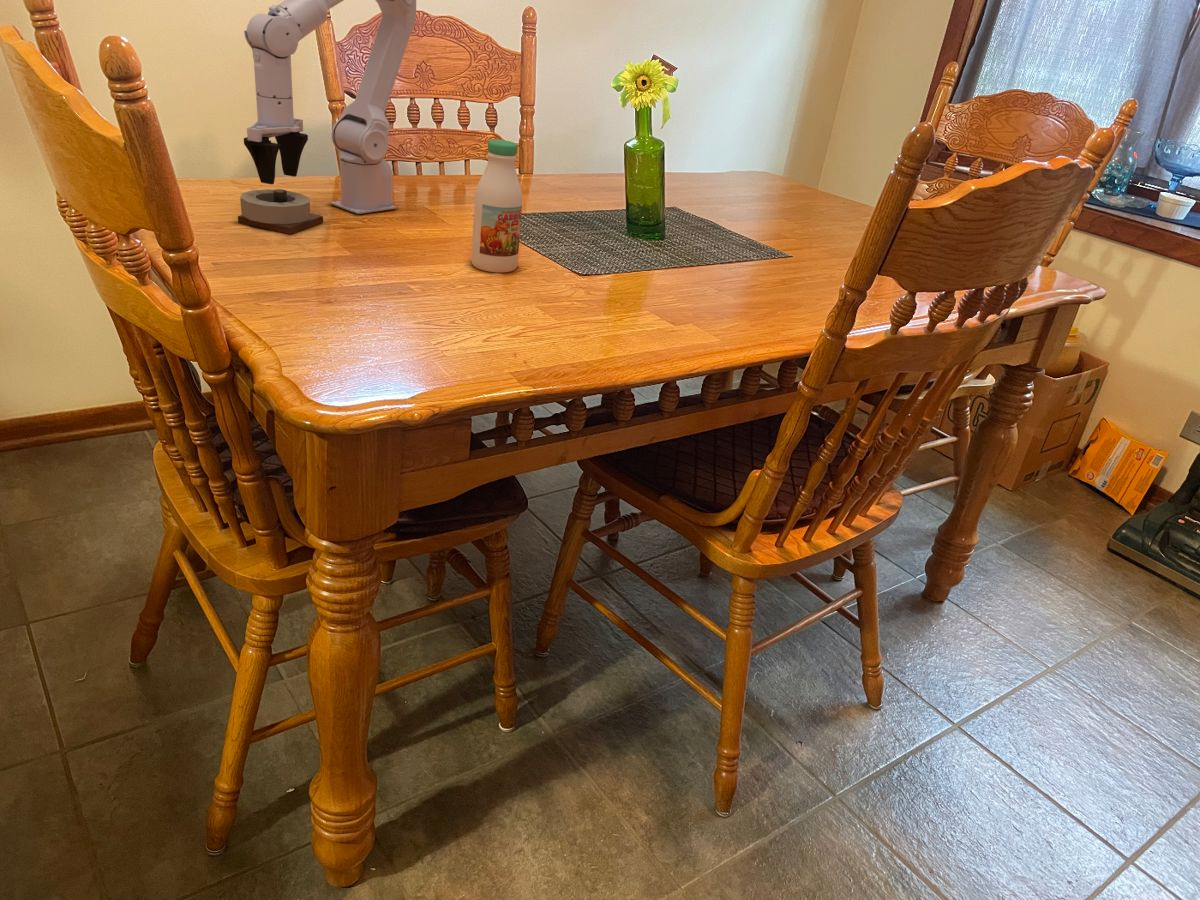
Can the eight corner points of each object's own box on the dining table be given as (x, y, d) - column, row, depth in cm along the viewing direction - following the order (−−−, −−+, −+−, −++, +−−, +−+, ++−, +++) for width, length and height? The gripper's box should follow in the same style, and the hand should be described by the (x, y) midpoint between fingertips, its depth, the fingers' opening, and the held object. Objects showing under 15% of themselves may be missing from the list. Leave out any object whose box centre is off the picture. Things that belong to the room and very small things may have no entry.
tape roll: (310, 208, 149) (309, 191, 148) (310, 225, 140) (309, 208, 139) (244, 204, 146) (243, 187, 144) (239, 222, 137) (238, 203, 135)
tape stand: (273, 211, 148) (271, 180, 146) (323, 222, 147) (322, 191, 144) (238, 223, 140) (235, 190, 137) (290, 234, 138) (288, 201, 136)
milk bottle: (462, 266, 136) (469, 139, 126) (484, 256, 142) (492, 134, 133) (503, 277, 134) (513, 149, 124) (524, 266, 140) (535, 144, 131)
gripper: (273, 103, 130) (278, 190, 137) (318, 95, 143) (320, 176, 150) (232, 96, 131) (239, 183, 138) (280, 89, 144) (284, 169, 150)
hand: (279, 179), depth 144 cm, fingers open, 7 cm apart
